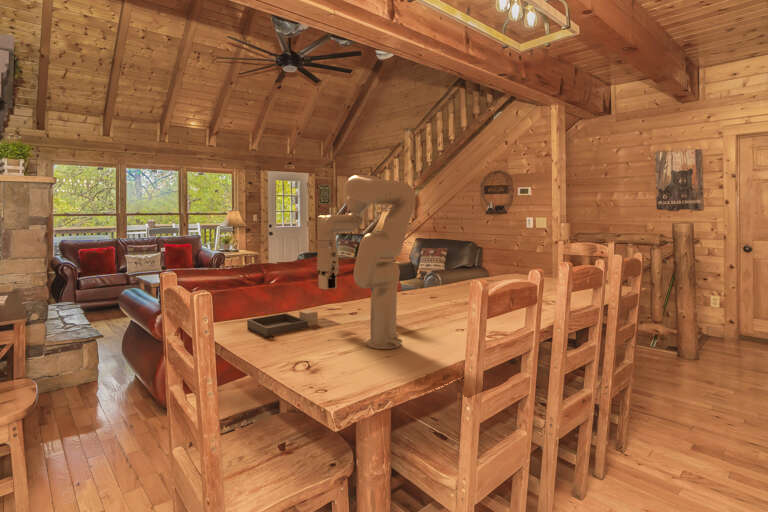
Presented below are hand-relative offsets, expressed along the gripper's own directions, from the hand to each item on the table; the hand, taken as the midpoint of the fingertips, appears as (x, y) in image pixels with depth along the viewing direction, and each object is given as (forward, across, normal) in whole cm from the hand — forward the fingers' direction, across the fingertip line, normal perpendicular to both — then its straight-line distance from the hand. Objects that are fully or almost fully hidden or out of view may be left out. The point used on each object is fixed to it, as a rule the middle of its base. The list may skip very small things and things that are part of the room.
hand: (327, 286), depth 190 cm
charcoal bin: (+17, +8, +20) cm, 27 cm away
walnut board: (+17, +2, +3) cm, 17 cm away
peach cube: (+1, 0, 0) cm, 1 cm away
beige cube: (+16, +4, +7) cm, 18 cm away
